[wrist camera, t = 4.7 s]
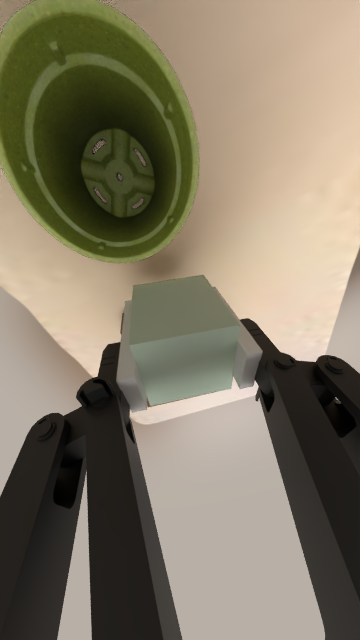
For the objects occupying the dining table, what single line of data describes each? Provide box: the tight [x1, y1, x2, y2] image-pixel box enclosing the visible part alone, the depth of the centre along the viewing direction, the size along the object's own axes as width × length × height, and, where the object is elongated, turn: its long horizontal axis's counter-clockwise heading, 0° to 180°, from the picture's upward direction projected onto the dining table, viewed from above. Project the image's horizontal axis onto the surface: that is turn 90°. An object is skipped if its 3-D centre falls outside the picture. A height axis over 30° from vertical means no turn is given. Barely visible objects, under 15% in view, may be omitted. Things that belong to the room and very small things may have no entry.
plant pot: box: [0, 0, 199, 263], centre depth 13 cm, size 9×9×9 cm
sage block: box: [129, 275, 240, 406], centre depth 12 cm, size 5×5×6 cm
